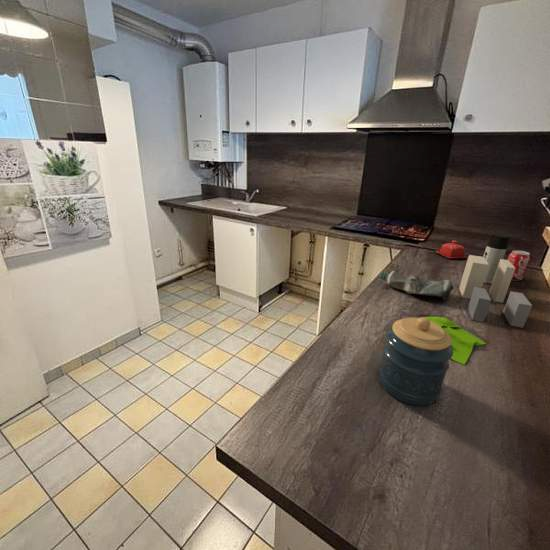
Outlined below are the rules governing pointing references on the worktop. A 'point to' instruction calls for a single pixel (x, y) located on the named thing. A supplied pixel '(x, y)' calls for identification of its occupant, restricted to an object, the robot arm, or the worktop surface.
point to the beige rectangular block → (473, 275)
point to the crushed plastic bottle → (418, 285)
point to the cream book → (501, 280)
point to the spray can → (495, 254)
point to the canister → (415, 360)
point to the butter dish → (452, 250)
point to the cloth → (458, 339)
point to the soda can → (519, 263)
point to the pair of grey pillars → (513, 310)
